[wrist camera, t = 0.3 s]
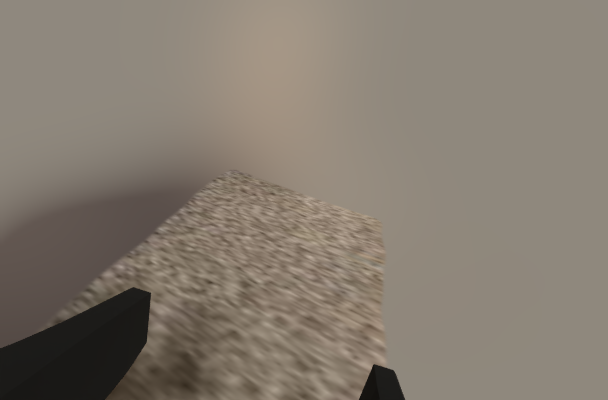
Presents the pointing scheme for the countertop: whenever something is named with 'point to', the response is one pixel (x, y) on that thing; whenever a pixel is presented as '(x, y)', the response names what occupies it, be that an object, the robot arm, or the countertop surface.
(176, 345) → the countertop surface
